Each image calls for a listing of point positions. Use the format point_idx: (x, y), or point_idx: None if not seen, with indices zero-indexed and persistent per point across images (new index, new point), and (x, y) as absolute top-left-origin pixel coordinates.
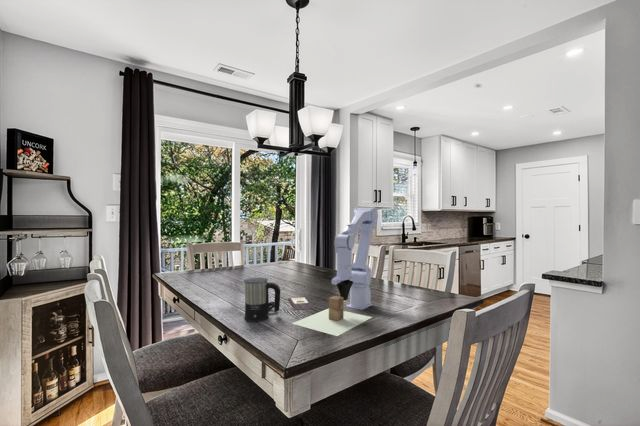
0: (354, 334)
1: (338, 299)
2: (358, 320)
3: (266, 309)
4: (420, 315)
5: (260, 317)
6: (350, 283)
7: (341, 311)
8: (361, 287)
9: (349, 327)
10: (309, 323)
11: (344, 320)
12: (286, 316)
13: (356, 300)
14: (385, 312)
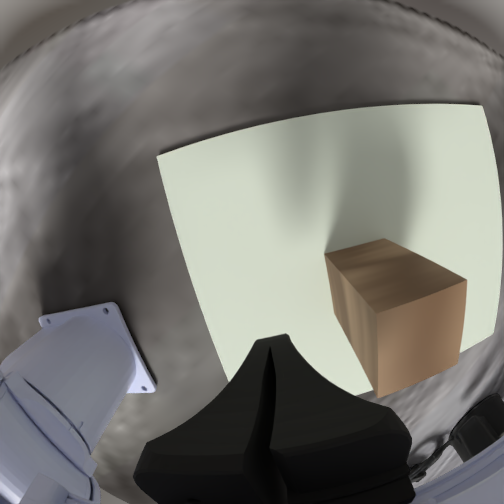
0: (417, 65)
1: (455, 283)
2: (276, 162)
3: (489, 422)
4: (6, 92)
5: (497, 400)
6: (244, 453)
7: (363, 261)
8: (33, 390)
9: (399, 120)
10: (472, 298)
11: (346, 220)
12: (437, 409)
13: (105, 363)
14: (48, 196)
